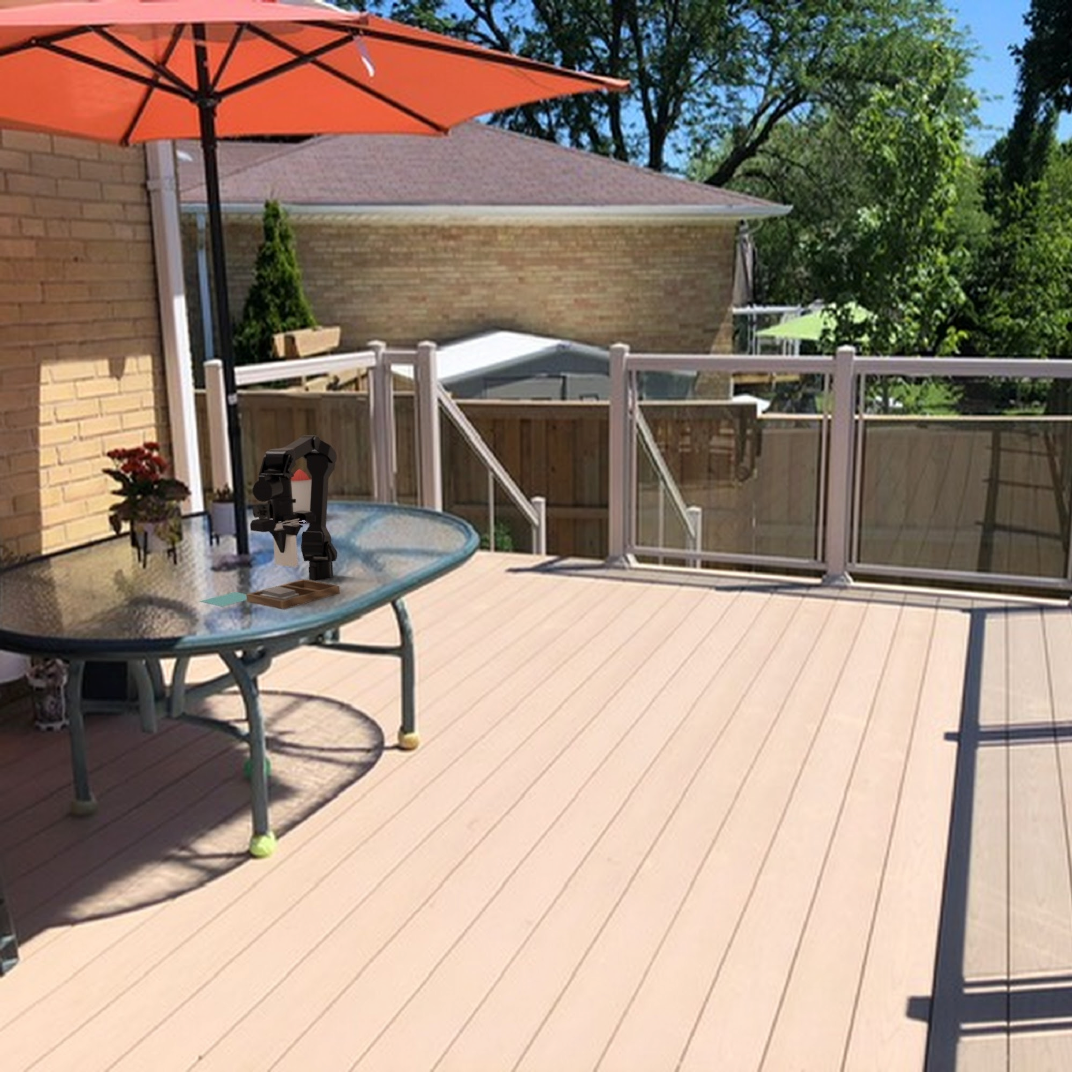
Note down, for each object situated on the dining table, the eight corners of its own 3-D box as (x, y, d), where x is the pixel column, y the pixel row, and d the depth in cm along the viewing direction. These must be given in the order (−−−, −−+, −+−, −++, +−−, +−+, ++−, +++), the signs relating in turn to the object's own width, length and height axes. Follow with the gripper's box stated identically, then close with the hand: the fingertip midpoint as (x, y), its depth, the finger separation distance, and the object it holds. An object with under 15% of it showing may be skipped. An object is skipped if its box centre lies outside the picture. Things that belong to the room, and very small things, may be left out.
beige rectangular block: (280, 563, 307) (278, 533, 306) (298, 565, 303) (295, 535, 302) (275, 564, 306) (272, 534, 304) (292, 567, 302) (290, 536, 300)
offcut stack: (275, 596, 305) (274, 585, 305) (301, 601, 299) (300, 590, 298) (256, 601, 300) (255, 590, 300) (282, 606, 294) (281, 595, 293)
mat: (235, 595, 311) (235, 592, 311) (258, 600, 305) (258, 596, 305) (199, 604, 302) (199, 601, 302) (222, 610, 296) (222, 606, 296)
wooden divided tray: (303, 589, 316) (303, 579, 315) (340, 596, 307) (339, 585, 306) (247, 604, 301) (246, 594, 300) (283, 612, 292) (282, 601, 291)
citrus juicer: (334, 517, 429) (331, 466, 425) (307, 525, 413) (304, 472, 409) (301, 515, 435) (297, 465, 431) (273, 523, 419) (269, 471, 416)
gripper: (287, 489, 313) (291, 543, 316) (234, 498, 298) (239, 555, 301) (314, 491, 307) (318, 546, 310) (262, 501, 292) (266, 559, 295)
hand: (285, 551), depth 304 cm, fingers closed on beige rectangular block, 2 cm apart
